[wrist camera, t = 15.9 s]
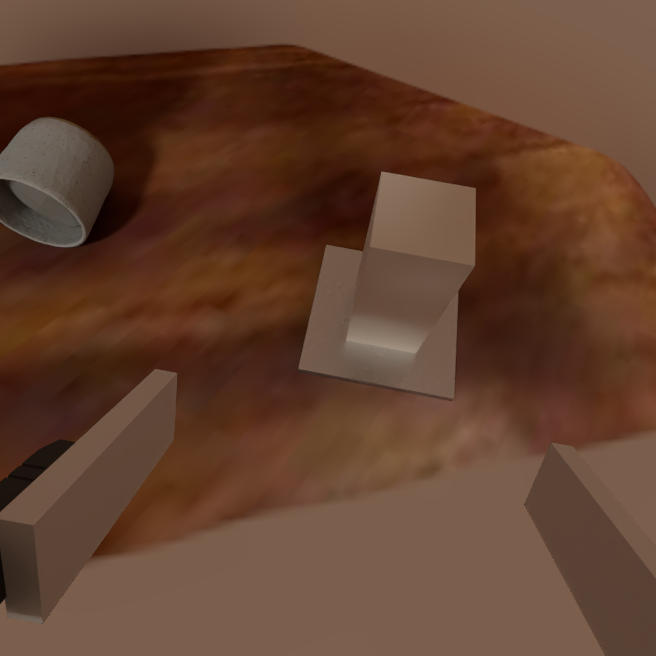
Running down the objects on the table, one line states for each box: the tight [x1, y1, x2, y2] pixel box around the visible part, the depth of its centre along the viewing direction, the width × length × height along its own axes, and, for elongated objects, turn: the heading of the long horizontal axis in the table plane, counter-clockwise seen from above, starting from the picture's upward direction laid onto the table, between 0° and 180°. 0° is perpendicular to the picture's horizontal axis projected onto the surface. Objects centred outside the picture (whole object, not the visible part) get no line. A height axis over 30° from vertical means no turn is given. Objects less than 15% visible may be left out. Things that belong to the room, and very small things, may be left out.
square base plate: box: [298, 245, 458, 401], centre depth 31 cm, size 12×12×7 cm
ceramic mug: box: [0, 117, 115, 247], centre depth 33 cm, size 11×8×8 cm
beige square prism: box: [346, 172, 476, 353], centre depth 28 cm, size 6×6×12 cm
